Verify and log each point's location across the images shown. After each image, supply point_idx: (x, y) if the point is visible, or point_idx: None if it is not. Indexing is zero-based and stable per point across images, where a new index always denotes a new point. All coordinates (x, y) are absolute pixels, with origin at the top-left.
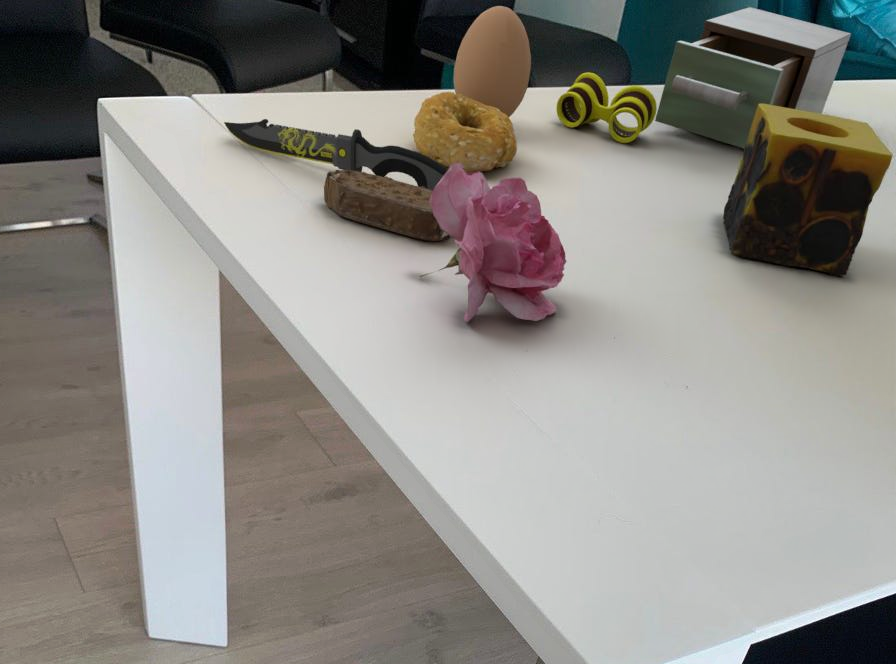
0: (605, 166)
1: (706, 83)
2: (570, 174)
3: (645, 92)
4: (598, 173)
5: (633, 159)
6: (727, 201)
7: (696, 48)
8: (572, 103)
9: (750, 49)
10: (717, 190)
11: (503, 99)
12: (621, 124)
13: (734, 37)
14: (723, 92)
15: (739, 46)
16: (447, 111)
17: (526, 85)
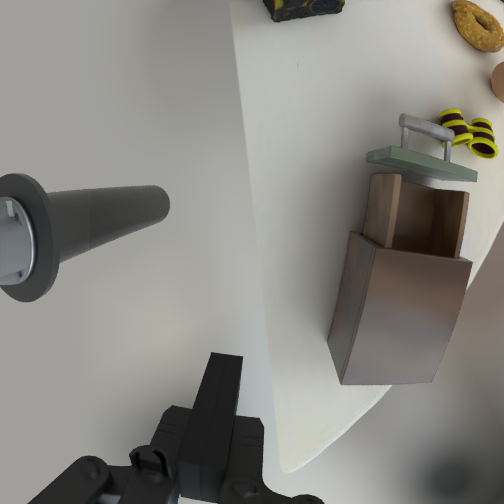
0: (429, 58)
1: (432, 127)
2: (433, 32)
3: (460, 134)
4: (425, 43)
5: (425, 85)
6: (342, 7)
7: (462, 166)
8: (487, 151)
9: None
10: (362, 59)
11: (496, 66)
12: (455, 144)
13: (445, 256)
14: (415, 118)
15: None
16: (488, 17)
17: (498, 78)
